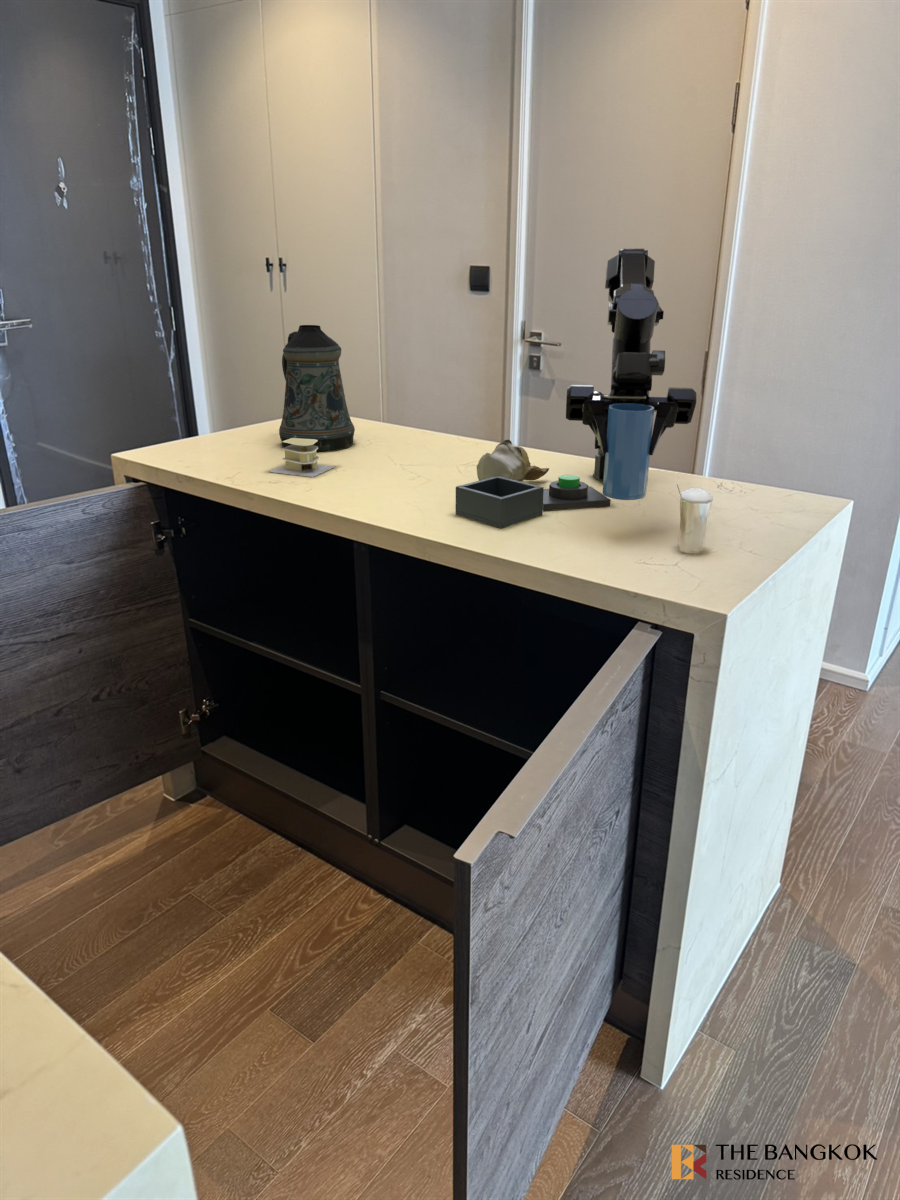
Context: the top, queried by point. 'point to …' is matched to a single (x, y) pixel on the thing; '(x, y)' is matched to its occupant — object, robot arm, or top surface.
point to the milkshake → (693, 518)
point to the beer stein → (314, 391)
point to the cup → (627, 451)
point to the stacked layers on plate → (301, 458)
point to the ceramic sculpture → (508, 464)
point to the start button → (569, 481)
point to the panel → (572, 497)
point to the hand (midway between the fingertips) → (627, 452)
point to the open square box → (499, 501)
